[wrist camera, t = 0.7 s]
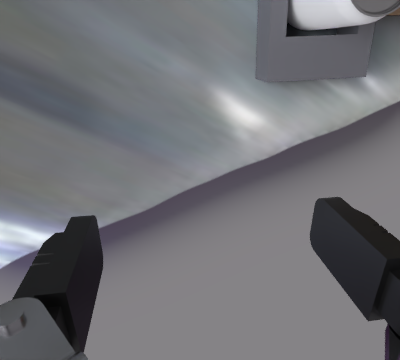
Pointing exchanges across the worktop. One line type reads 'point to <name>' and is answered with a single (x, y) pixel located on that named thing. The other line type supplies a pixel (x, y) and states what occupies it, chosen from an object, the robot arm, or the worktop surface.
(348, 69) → the grey block with hole
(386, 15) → the walnut board
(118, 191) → the worktop surface
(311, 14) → the can
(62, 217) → the worktop surface
